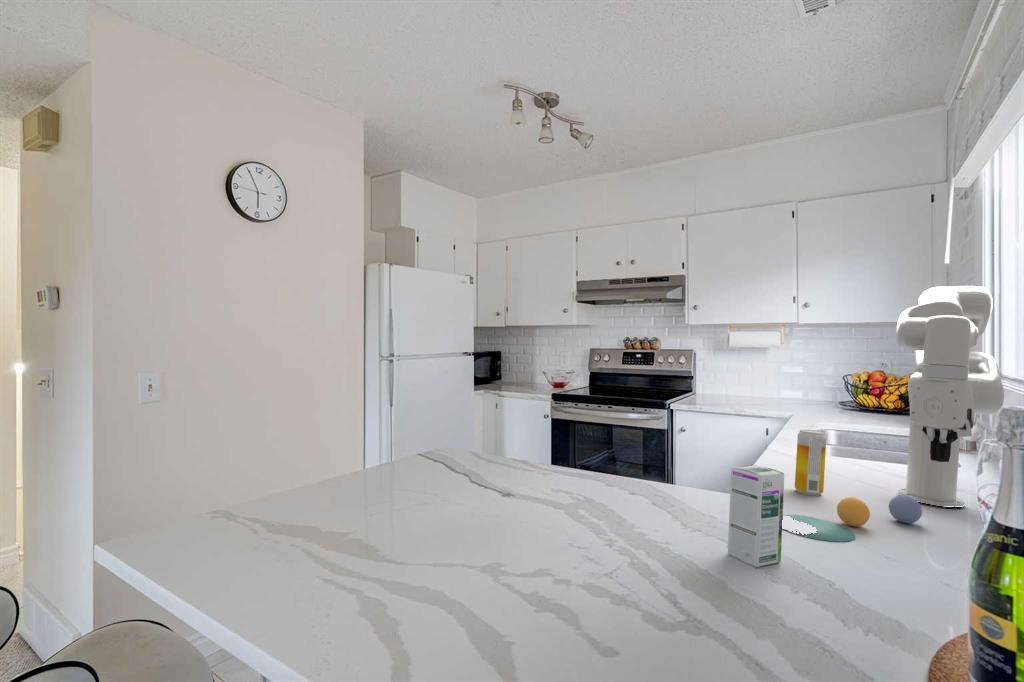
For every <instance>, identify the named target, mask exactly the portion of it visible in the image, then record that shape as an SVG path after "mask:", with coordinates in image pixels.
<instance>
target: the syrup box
mask: <svg viewBox="0 0 1024 682" xmlns="http://www.w3.org/2000/svg"><path fill="white" fill-rule="evenodd" d="M730 470H731V471H730V491H729V492H730V494H729V513H728V514H729V516H728V520H729V521H728V538H727V539H728V540H727V553H728V555H730V556H732V557H734V558H735V559H737V560H739V561H742V562H744V563H746V564H748V565H750V566H751V567H755V568H760V567H763V566H767V565H773V564H778V563H781V561H782V539H783V529H782V520H783V515H784V492H785V491H784V489H785V473H784V472H782V471H779V470H777V469H773V468H770V467H766V466H760V465H757V464H756V465H755V464H754V465H752V466H751V465H750V466H749V465H748V466H741V467H740V466H739V467H734V466H733V467H732V468H731V469H730Z"/></svg>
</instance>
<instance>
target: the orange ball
mask: <svg viewBox="0 0 1024 682" xmlns="http://www.w3.org/2000/svg"><path fill="white" fill-rule="evenodd" d="M836 513H837V515H838V517H839V519H840V520H841V522H843V523H844V524H846V525H848V526H851V527H861V526H864V525H865V524H867V523H868V522H869V519H870V516H871V514H870V513H871V512H870V509H869V507H868V505H867V504H866V502H864V501H863V500H861V499H859V498H855V497H851V496H850V497H845V498H843V499H841V500H840V501H839V502H838V504H837V507H836Z"/></svg>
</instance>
